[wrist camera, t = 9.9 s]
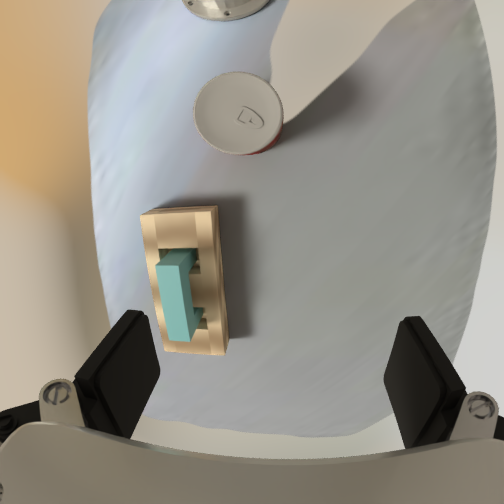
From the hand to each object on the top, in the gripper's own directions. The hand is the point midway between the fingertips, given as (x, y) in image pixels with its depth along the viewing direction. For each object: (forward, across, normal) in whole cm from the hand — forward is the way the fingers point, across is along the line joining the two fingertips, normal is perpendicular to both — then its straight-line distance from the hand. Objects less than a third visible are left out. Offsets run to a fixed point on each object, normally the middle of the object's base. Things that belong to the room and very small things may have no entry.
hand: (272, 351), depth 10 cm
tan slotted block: (+28, +12, +11) cm, 32 cm away
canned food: (+29, +3, -10) cm, 30 cm away
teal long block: (+27, +12, +11) cm, 31 cm away
